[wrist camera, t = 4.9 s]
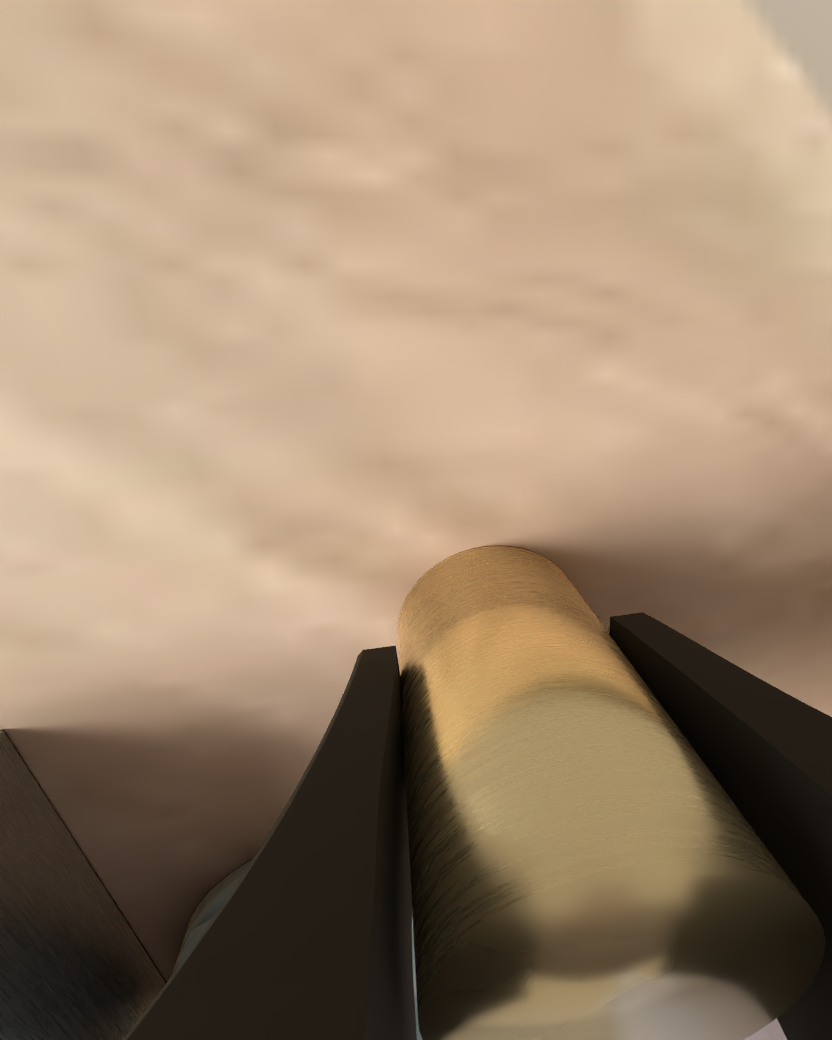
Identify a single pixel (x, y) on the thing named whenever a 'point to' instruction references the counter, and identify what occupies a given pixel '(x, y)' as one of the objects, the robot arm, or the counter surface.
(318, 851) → the robot arm
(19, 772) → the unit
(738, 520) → the counter surface
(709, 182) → the counter surface
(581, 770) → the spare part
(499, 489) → the counter surface
